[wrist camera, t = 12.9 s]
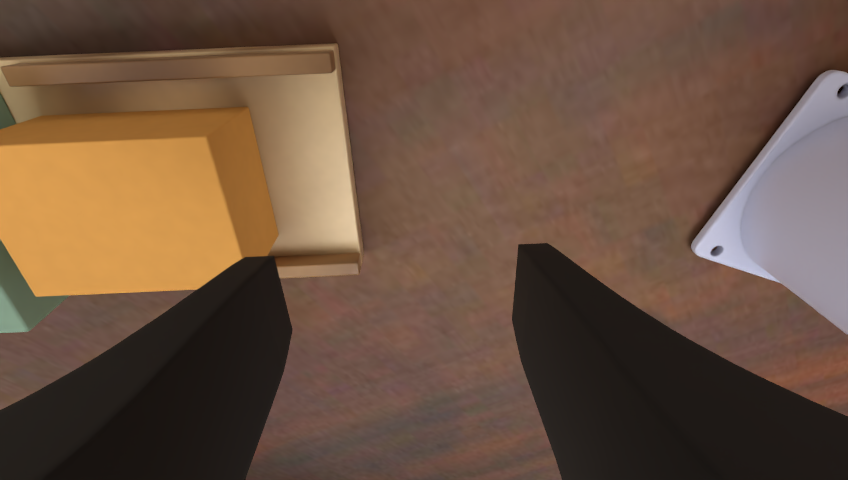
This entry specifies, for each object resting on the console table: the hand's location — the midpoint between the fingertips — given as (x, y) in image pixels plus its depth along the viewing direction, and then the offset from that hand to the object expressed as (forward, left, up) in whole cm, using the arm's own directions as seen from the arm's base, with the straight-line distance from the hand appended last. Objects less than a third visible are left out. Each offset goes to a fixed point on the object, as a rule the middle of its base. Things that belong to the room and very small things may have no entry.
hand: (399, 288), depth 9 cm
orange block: (+8, +3, -7) cm, 11 cm away
